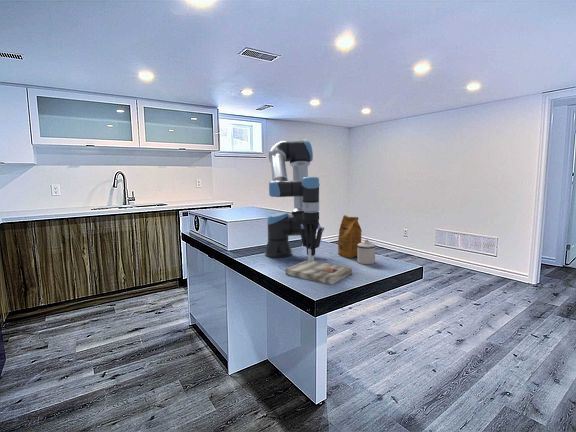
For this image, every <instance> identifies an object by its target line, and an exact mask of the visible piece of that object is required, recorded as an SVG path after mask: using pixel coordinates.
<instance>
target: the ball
mask: <svg viewBox="0 0 576 432" xmlns="http://www.w3.org/2000/svg"><path fill="white" fill-rule="evenodd" d="M324 272H328V273H333V269H332V268H330V267H327V268H325V270H324Z"/></svg>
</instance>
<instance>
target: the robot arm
mask: <svg viewBox="0 0 576 432" xmlns="http://www.w3.org/2000/svg"><path fill="white" fill-rule="evenodd" d="M313 153H314V152H313V147H312V144H311V141H308V140H302V139H301V140H281V141H279V142H277V143H275V144H274V145H273V146H272V147H271V148H270V150H269V152H268V161H269V163H270V167H271V179H272V180H271V181H269V183H268V191H269V192H268V193H269V194H268V195H269V197H270V198H286V197H287V198H289V197H291V198H293V210H292V211H291V214H289V213H288V212H284V211H283V212H277V213H272V214H269V215H268V217H267V223H266V224H267V244H266V247H265V249H264V255H265V256H266V255H267V256H266V257H268V256H269V258H287V257H289V256H292V255H293V249H292V248H291V245H290V241H289V236H291V237H292V236H294V237H295V236H298V237H299V236H300V238H301V243H302V246H303V247H305V248H306V255H307V260H308V262H309V263H312V262H314V261H315V256H316V249H317V248H320V245H321V241H322V236H323V233H324V230H325V227H324V226H323V227H322V226H321V224H320V212H319V211H320V178H319V177H317V176H309V171H308V170H309V169H308V167H309V166H310V165H311V162H312V161H313V159H314V157H313V156H314V154H313ZM286 162H289V165H290V167H292V180H288V174H287V173H288V172H287V166H286ZM291 254H292V255H291Z"/></svg>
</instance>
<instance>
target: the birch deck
mask: <svg viewBox="0 0 576 432" xmlns="http://www.w3.org/2000/svg"><path fill="white" fill-rule="evenodd" d="M327 267H330V268H332V269H333V273H328V272H324V270H325V268H327ZM352 268H353V267H349V266H343V265H337V264H332V263H326V262H321V261H315V260H314V262H312V263H309V262H308V259H306V260H304V261H302V262H299V263H297V264H295V265H292V266H288V267H287V268H285V275H287V276H288V275H289V276H291V277H292V276H293V277H297V278H301V279H305V280H310V281H314V282H318V283H324V284H328V285H335V284H336V283H338V282H339V281H341V280H343V279H344V278H346V277H348V276H349V275H351V274H353V273H352V271H353V269H352Z"/></svg>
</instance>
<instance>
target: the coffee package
mask: <svg viewBox="0 0 576 432" xmlns="http://www.w3.org/2000/svg"><path fill="white" fill-rule="evenodd" d="M338 230H339V231H338V238H337V247H338V248H337V250H338V251H337V252H338V253H337V254H338V255H339V256H342V257H345V258H349V259H353V258H354V257H358V251H357V248H358V247H357V245H358V244H359V243H362V228H361V226H360V223H359V217H358V216H348V215H346V214H344V215H343V216H342V219H341V223H340V227H339V229H338Z"/></svg>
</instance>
